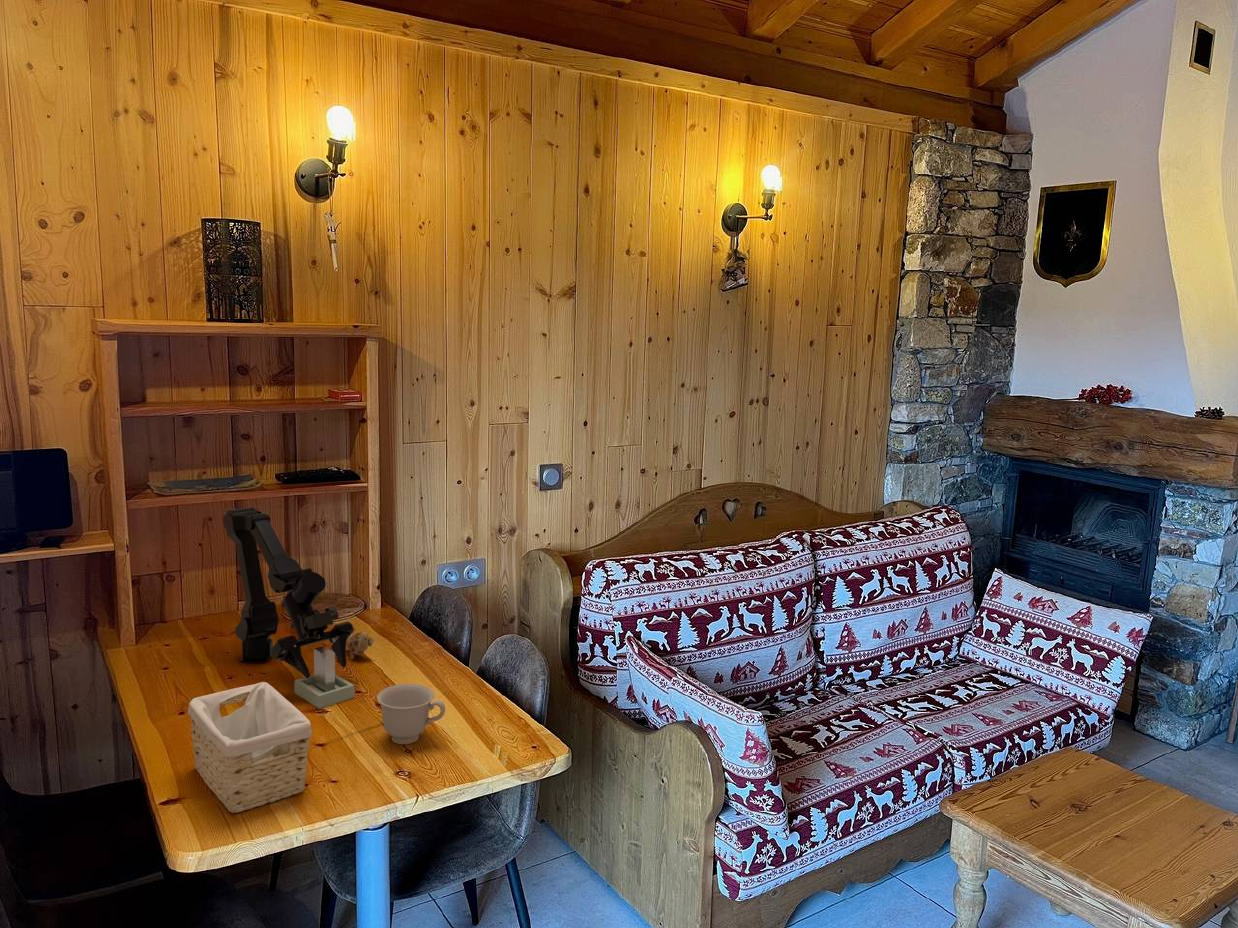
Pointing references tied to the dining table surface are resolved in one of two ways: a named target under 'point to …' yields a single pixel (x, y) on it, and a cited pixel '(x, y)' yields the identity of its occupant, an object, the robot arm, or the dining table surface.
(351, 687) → the storage box
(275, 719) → the storage basket
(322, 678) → the rectangular steel block
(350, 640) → the lion figurine
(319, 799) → the dining table surface
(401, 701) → the teacup
